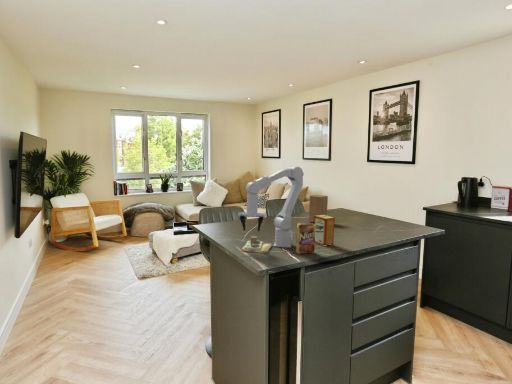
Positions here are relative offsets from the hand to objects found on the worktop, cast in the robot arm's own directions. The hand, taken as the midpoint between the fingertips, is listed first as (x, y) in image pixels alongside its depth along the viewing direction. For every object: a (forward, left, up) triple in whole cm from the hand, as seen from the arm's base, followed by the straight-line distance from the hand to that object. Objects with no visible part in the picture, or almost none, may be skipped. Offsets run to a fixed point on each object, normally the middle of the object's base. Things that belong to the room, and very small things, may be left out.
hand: (251, 230), depth 173 cm
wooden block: (-30, -82, -10) cm, 87 cm away
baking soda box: (-37, -22, -10) cm, 43 cm away
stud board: (-3, 0, -10) cm, 10 cm away
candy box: (-29, -1, -10) cm, 30 cm away
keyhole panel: (-1, -1, -9) cm, 9 cm away
